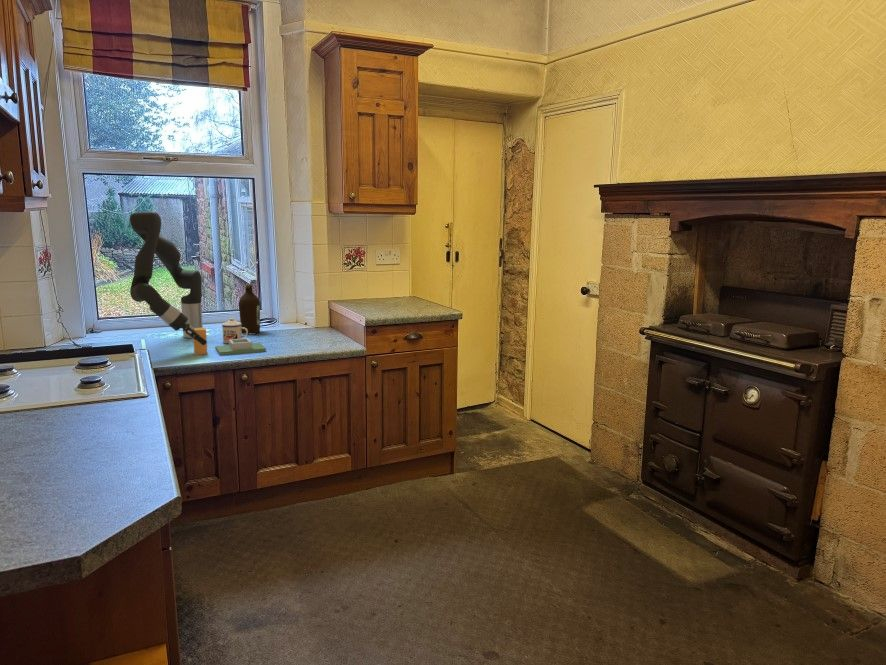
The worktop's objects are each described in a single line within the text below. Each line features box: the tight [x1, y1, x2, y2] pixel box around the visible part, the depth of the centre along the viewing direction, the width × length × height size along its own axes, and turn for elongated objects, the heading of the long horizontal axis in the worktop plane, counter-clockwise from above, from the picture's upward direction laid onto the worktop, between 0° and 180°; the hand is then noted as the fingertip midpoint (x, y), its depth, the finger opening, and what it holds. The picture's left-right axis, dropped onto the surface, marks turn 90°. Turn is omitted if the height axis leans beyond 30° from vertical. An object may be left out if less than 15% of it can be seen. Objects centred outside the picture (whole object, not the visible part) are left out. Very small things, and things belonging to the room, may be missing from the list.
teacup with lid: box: [221, 317, 249, 345], centre depth 293 cm, size 12×9×12 cm
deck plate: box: [214, 337, 267, 356], centre depth 278 cm, size 13×20×4 cm, turn 118°
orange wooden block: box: [192, 327, 208, 356], centre depth 270 cm, size 5×5×11 cm
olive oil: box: [238, 284, 261, 334], centre depth 314 cm, size 11×11×25 cm
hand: (204, 342), depth 271 cm, fingers closed on orange wooden block, 5 cm apart
